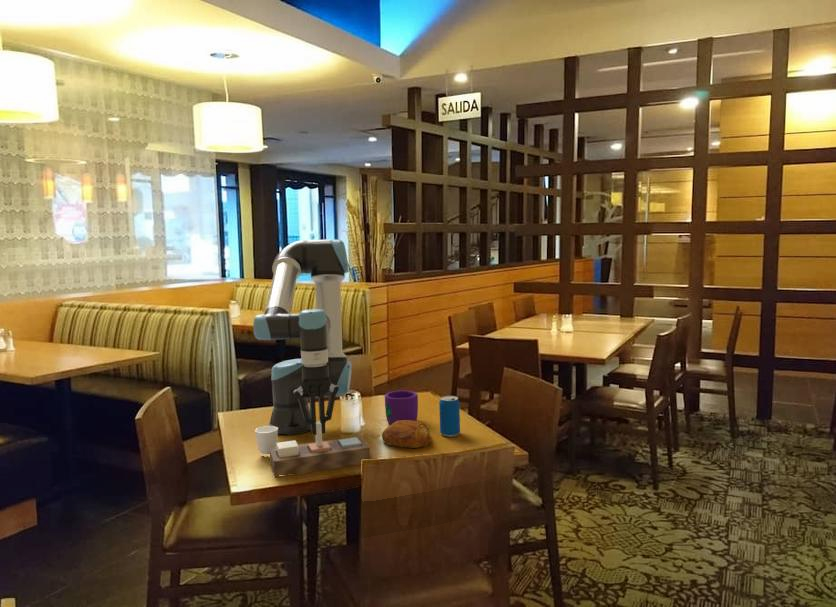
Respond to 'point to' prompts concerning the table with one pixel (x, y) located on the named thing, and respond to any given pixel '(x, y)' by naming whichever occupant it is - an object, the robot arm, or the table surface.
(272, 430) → the cup
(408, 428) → the pastry
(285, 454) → the ivory key
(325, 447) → the terracotta key
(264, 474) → the table surface
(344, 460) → the key block
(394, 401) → the mug
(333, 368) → the robot arm
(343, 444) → the slate key
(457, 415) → the beverage can
